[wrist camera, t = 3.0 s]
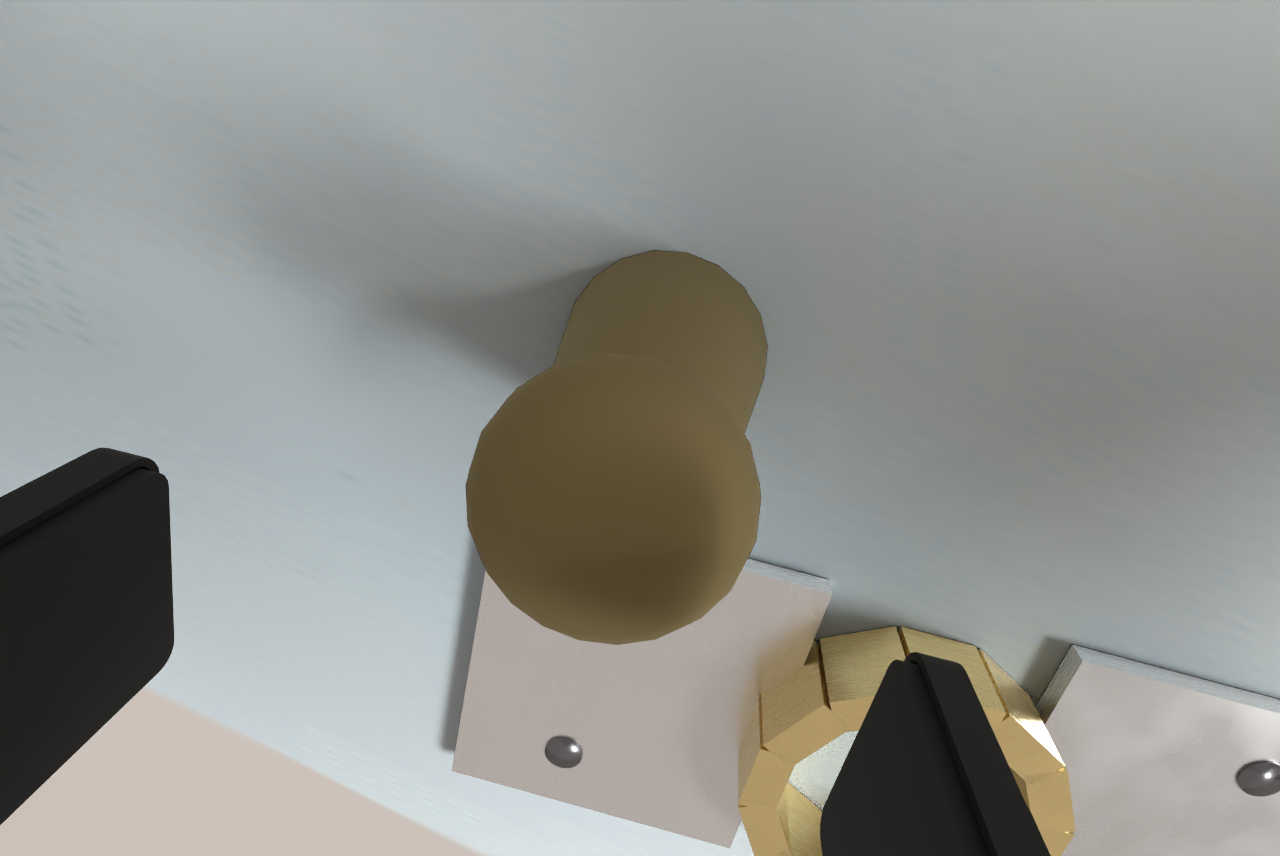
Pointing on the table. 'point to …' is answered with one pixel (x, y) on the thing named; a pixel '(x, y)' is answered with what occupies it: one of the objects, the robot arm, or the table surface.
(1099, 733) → the mounting plate with ring
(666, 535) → the cork
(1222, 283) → the table surface
